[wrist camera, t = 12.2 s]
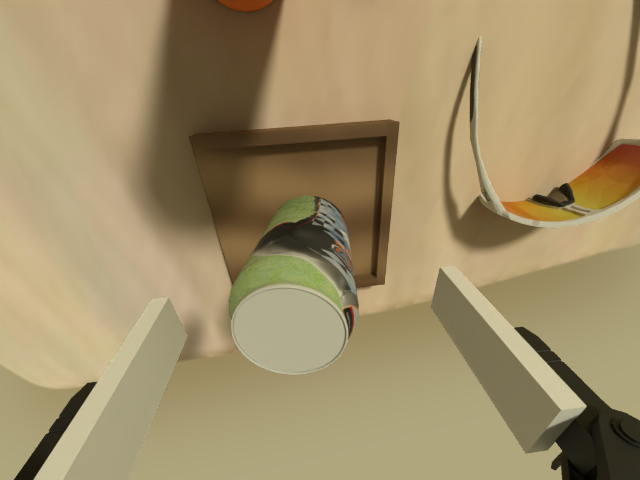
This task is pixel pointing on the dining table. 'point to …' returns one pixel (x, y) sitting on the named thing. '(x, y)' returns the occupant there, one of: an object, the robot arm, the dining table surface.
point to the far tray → (302, 184)
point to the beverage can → (297, 290)
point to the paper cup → (245, 4)
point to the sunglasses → (580, 194)
